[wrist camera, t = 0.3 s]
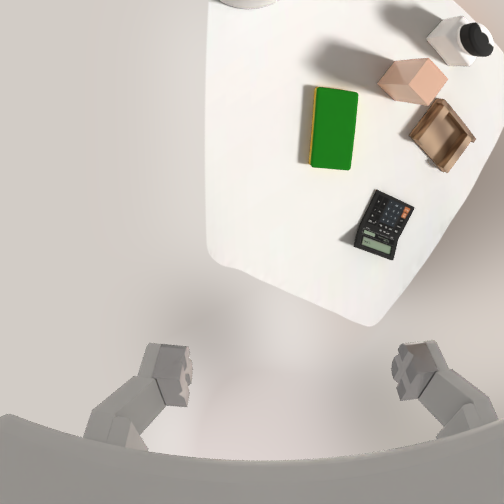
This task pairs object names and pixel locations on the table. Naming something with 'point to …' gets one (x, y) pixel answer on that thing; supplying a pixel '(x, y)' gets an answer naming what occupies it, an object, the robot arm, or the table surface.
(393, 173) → the table surface
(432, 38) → the medicine bottle
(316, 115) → the dish sponge
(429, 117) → the tray
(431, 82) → the clay block
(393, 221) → the calculator
